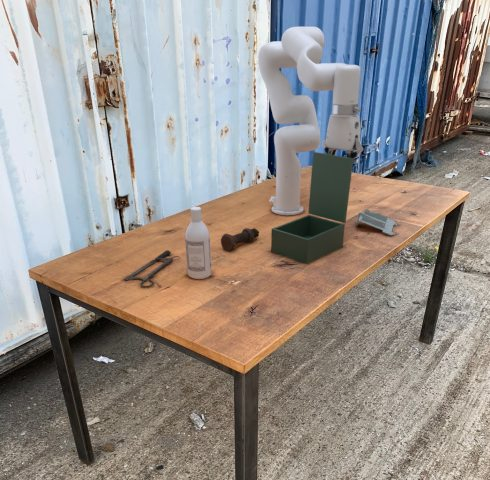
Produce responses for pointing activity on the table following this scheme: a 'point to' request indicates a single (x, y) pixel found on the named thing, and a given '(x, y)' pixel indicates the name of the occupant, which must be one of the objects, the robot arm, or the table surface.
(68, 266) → the table surface
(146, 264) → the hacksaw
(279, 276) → the table surface
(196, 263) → the bath foam
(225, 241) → the bolt
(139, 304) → the table surface
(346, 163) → the chest lid
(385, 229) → the metal bracket
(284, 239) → the parts chest
